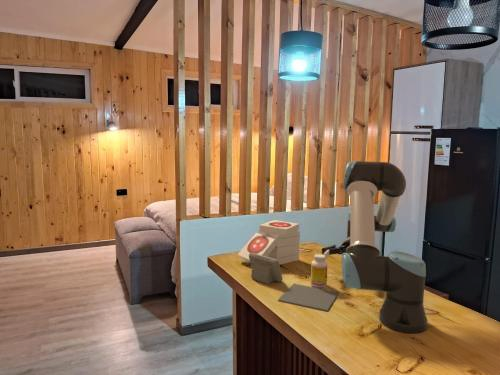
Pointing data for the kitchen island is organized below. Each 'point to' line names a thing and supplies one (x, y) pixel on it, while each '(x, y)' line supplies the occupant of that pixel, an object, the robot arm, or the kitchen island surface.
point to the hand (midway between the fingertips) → (340, 259)
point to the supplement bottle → (319, 271)
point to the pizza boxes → (274, 242)
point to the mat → (309, 297)
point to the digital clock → (265, 268)
